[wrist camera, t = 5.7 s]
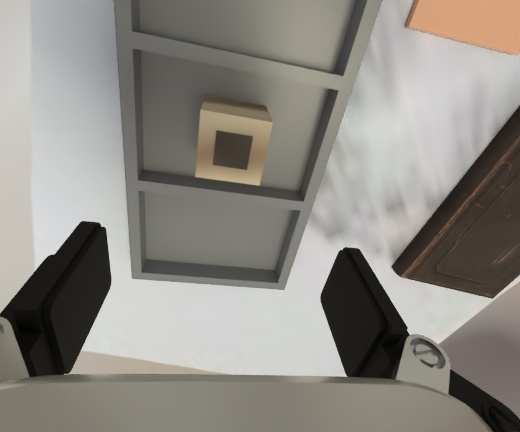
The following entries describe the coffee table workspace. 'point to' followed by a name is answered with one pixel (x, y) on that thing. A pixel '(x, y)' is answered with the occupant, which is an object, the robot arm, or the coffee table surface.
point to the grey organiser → (240, 89)
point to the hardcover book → (474, 225)
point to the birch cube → (232, 140)
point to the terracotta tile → (470, 22)
